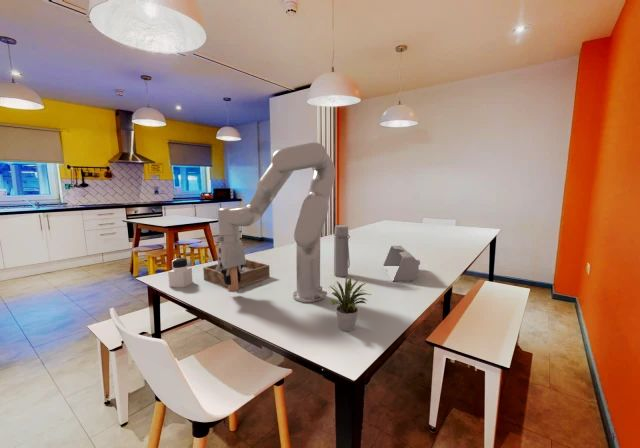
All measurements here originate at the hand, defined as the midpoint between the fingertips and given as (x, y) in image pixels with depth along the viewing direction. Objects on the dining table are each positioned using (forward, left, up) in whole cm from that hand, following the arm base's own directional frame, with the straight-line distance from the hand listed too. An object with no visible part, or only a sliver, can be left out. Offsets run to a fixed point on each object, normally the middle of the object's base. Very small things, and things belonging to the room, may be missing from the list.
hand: (232, 282), depth 115 cm
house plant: (-50, -6, -6) cm, 51 cm away
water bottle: (-20, -50, -6) cm, 54 cm away
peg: (0, 0, -3) cm, 3 cm away
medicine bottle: (+31, +6, -6) cm, 32 cm away
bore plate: (+18, -15, -6) cm, 24 cm away
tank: (-43, -71, -6) cm, 83 cm away
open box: (+18, -15, -6) cm, 24 cm away
